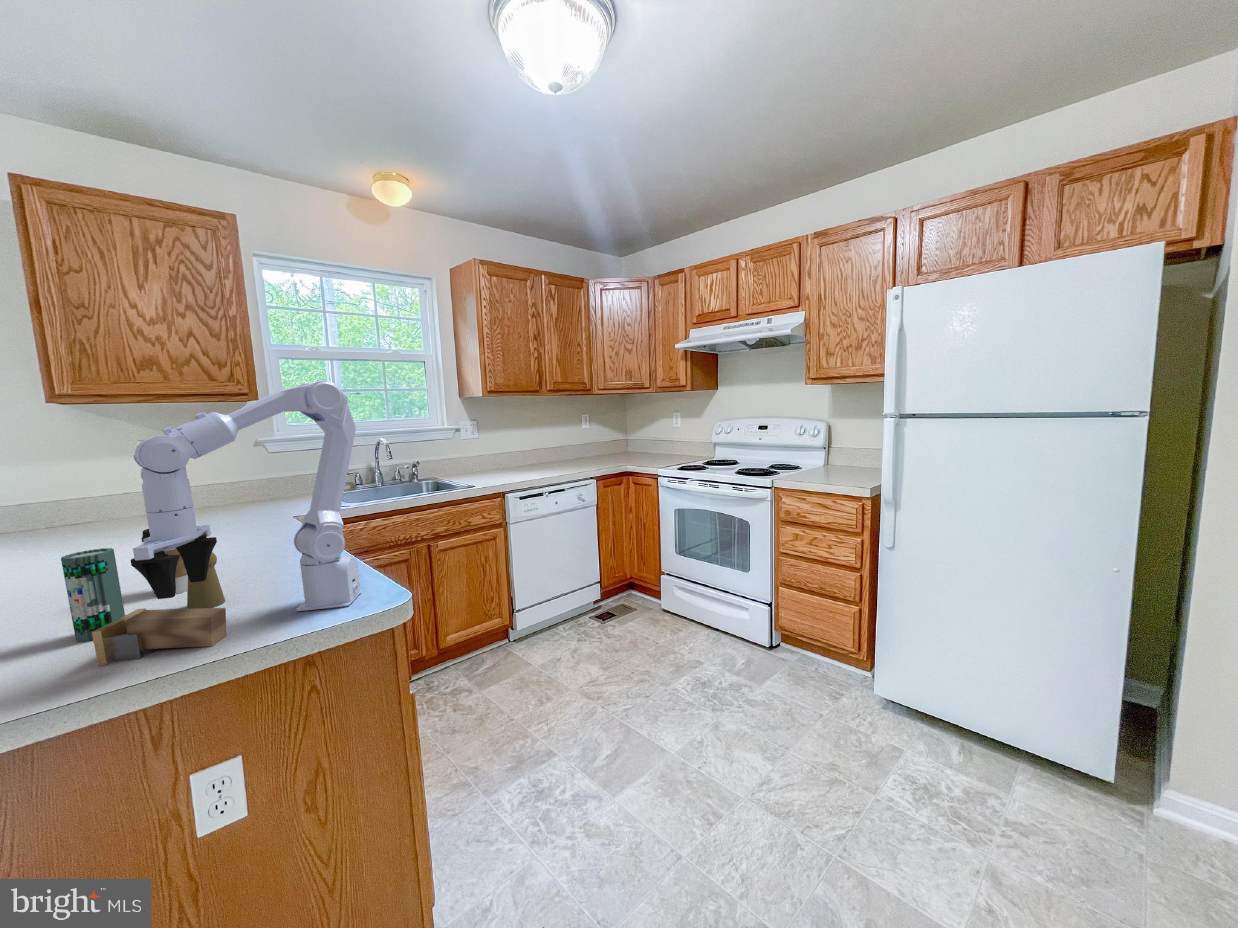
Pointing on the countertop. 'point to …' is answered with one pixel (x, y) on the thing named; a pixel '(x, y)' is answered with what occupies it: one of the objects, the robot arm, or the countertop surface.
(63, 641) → the countertop surface
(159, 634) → the tan rectangular block
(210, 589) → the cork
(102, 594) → the can
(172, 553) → the coffee cup
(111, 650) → the bracket
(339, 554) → the robot arm
